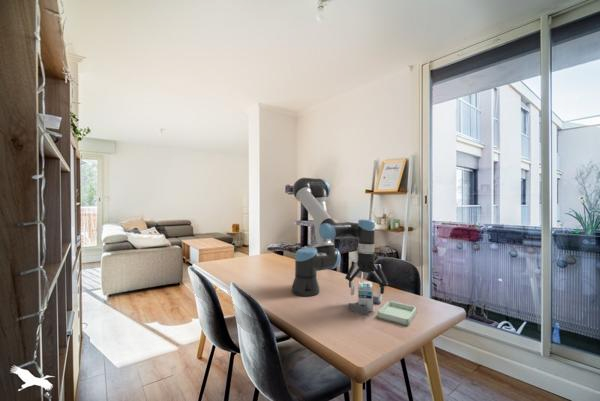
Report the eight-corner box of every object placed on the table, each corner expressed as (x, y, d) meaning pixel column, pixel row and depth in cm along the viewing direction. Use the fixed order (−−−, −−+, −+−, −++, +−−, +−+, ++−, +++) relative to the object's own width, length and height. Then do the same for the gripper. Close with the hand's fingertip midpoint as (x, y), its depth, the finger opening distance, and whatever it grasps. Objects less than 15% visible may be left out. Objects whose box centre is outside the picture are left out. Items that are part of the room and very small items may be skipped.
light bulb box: (373, 312, 121) (373, 288, 121) (358, 310, 122) (358, 286, 122) (371, 303, 131) (372, 281, 131) (357, 302, 132) (358, 280, 132)
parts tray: (377, 317, 115) (377, 311, 115) (389, 305, 128) (389, 300, 128) (408, 326, 107) (408, 319, 108) (417, 312, 121) (417, 306, 121)
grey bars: (348, 310, 122) (348, 303, 122) (363, 299, 136) (363, 293, 136) (367, 315, 117) (367, 308, 117) (380, 303, 131) (380, 297, 131)
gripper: (338, 250, 131) (338, 294, 130) (390, 256, 116) (390, 305, 116) (345, 248, 137) (345, 290, 136) (395, 254, 123) (395, 300, 122)
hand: (365, 297), depth 126 cm, fingers open, 13 cm apart
